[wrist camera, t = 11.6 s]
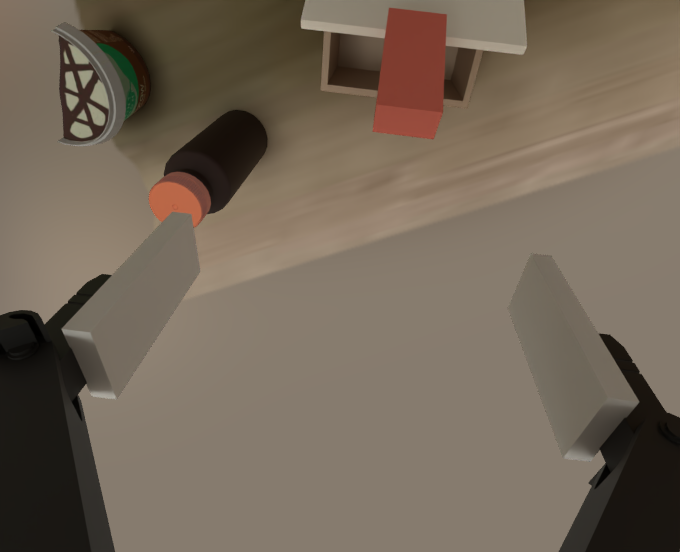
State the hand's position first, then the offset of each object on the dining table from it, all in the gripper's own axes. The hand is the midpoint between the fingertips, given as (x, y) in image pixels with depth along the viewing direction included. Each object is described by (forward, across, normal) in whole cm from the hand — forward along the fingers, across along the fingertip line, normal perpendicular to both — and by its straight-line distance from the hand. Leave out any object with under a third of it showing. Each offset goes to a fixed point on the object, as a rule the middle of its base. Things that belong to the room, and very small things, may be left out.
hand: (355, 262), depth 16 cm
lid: (+19, +2, +7) cm, 20 cm away
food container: (+38, -29, -3) cm, 48 cm away
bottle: (+38, -16, -8) cm, 42 cm away
